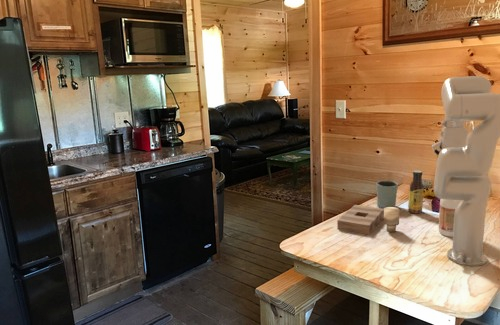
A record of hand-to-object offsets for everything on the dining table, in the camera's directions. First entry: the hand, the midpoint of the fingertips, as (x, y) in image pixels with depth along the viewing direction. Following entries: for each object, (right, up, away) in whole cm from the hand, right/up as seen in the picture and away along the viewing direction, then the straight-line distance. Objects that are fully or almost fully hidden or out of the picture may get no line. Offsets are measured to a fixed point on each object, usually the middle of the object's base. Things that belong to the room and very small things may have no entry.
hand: (452, 164), depth 170 cm
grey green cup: (-18, -21, +29) cm, 40 cm away
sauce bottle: (-7, -23, +20) cm, 31 cm away
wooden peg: (-26, -28, 0) cm, 39 cm away
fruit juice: (-3, -29, -6) cm, 29 cm away
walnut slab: (-36, -27, +10) cm, 46 cm away
